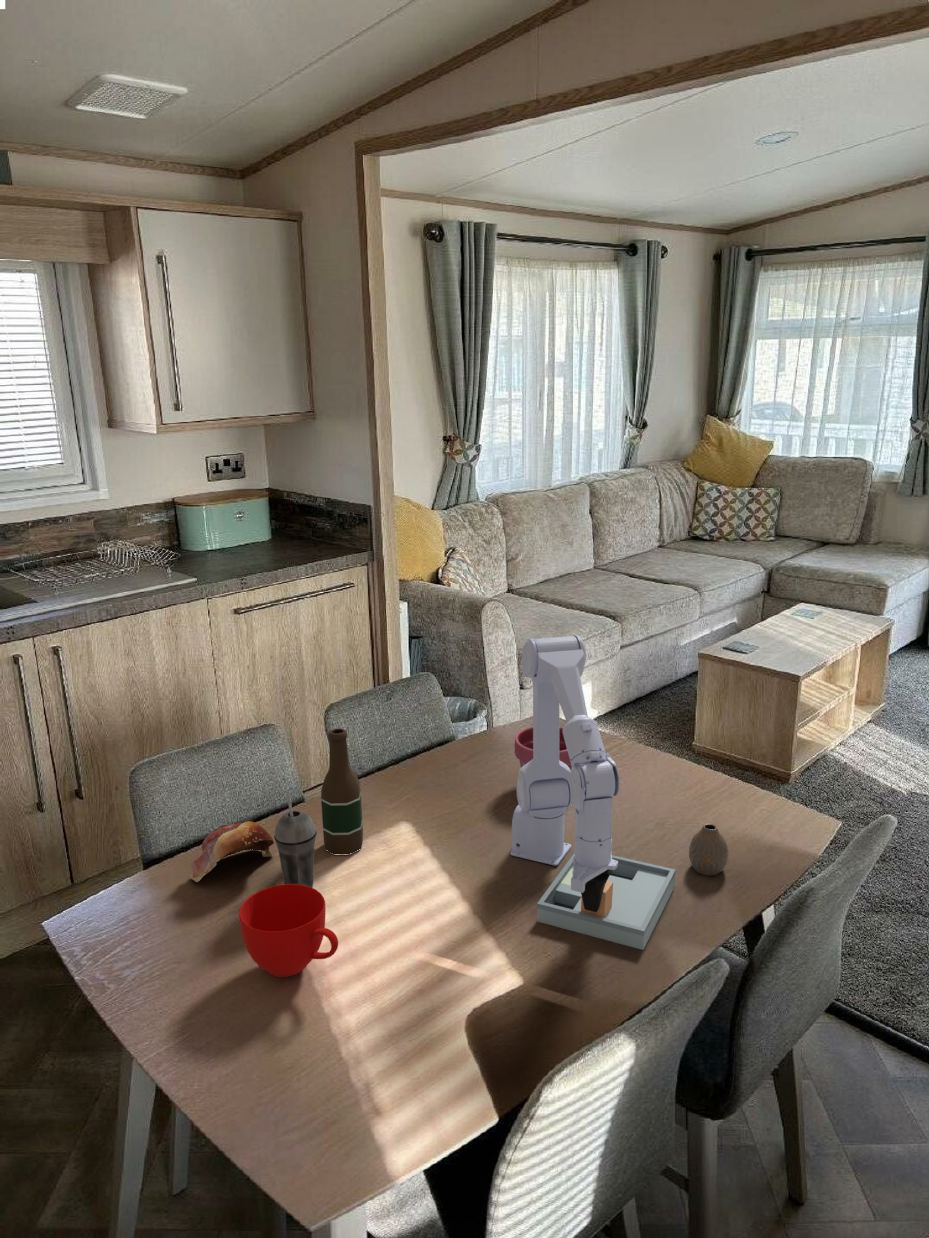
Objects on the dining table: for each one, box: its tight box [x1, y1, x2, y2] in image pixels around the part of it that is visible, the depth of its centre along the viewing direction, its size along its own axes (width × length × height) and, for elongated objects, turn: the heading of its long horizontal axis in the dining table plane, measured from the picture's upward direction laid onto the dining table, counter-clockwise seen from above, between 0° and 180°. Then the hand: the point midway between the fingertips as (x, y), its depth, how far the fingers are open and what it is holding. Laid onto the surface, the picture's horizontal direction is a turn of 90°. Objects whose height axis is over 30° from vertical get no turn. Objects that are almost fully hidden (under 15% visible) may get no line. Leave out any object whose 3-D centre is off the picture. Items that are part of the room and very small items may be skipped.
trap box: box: [536, 852, 677, 951], centre depth 154 cm, size 18×20×3 cm
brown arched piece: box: [190, 820, 275, 883], centre depth 166 cm, size 16×13×10 cm
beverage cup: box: [273, 791, 318, 888], centre depth 157 cm, size 7×7×20 cm
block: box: [581, 881, 613, 918], centre depth 148 cm, size 4×4×4 cm
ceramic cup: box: [238, 883, 339, 978], centre depth 138 cm, size 13×17×10 cm
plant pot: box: [514, 726, 572, 770], centre depth 194 cm, size 14×14×13 cm
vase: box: [688, 823, 729, 877], centre depth 163 cm, size 7×7×9 cm
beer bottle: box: [320, 728, 364, 855], centre depth 172 cm, size 8×8×24 cm
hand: (591, 909), depth 146 cm, fingers closed, pressing on block
